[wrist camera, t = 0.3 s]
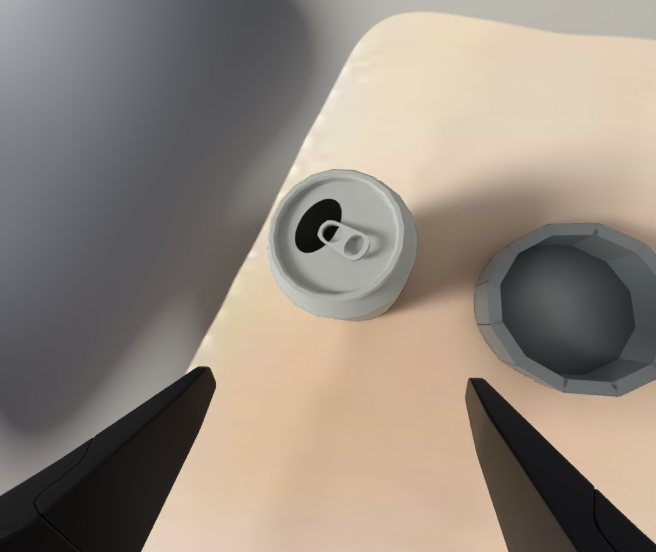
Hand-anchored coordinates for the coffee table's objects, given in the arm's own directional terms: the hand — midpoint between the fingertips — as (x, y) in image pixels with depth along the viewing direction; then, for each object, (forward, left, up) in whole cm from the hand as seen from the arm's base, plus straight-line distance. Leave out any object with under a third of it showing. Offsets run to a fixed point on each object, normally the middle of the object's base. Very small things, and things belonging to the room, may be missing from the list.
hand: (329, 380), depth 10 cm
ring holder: (-4, -14, -14) cm, 20 cm away
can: (+5, -3, -14) cm, 15 cm away
